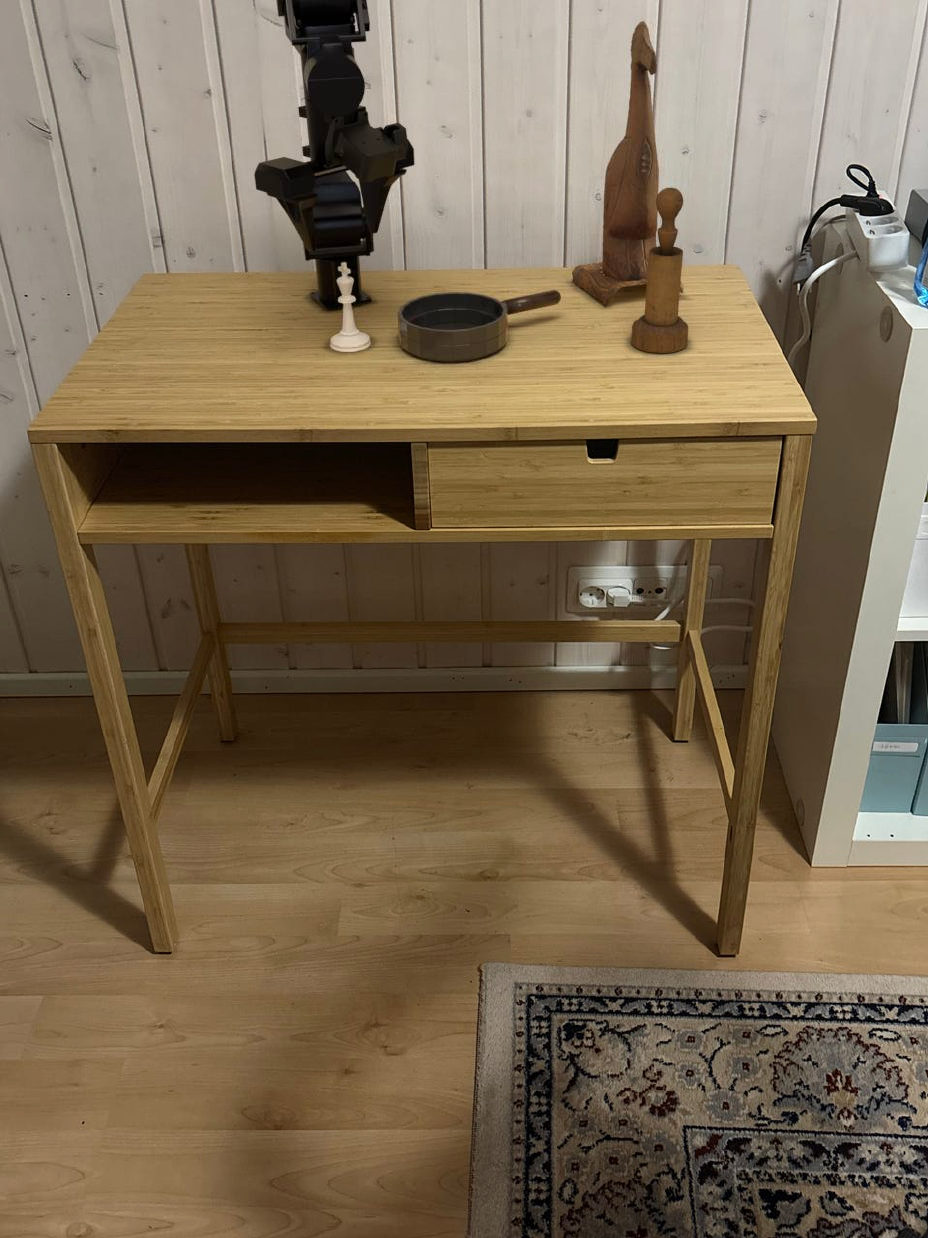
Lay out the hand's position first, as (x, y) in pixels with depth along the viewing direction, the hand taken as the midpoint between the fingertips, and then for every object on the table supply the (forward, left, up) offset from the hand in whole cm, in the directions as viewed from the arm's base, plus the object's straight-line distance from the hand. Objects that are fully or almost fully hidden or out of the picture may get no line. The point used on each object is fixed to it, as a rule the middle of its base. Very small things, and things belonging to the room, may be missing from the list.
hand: (343, 241), depth 136 cm
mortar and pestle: (+19, +32, -13) cm, 39 cm away
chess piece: (0, 0, -13) cm, 13 cm away
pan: (+6, +11, -12) cm, 18 cm away
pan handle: (+6, +21, -10) cm, 24 cm away
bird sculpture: (+1, +39, -13) cm, 41 cm away
